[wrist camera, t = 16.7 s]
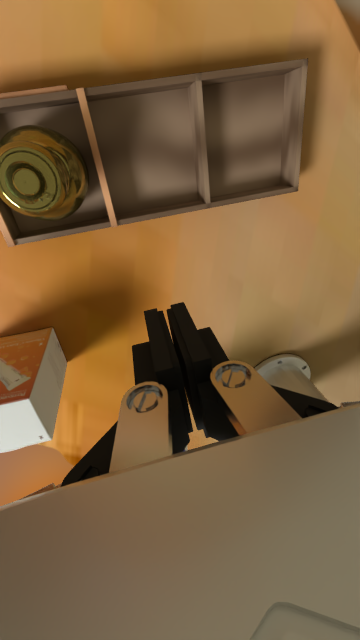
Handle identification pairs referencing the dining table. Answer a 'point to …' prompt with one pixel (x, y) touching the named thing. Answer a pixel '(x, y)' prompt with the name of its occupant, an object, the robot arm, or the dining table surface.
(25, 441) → the small box
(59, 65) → the dining table surface
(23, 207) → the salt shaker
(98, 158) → the wooden compartment tray
